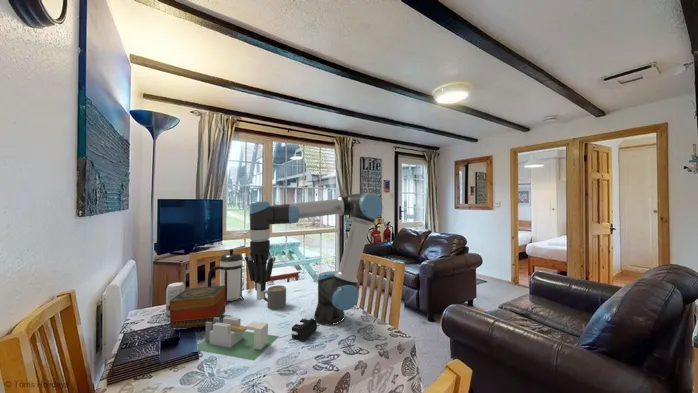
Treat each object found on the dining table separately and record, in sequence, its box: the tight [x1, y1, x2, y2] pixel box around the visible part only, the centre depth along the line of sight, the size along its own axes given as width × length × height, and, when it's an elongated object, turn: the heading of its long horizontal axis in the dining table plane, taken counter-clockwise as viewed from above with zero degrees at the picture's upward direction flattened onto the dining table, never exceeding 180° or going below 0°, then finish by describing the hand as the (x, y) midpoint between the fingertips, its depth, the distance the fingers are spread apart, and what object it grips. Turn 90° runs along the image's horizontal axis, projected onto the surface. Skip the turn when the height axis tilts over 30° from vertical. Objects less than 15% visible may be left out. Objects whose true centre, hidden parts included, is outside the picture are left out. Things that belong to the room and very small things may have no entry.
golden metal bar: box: [212, 322, 248, 331], centre depth 113 cm, size 17×3×1 cm, turn 75°
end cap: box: [291, 318, 318, 343], centre depth 118 cm, size 10×7×7 cm
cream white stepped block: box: [245, 321, 269, 350], centre depth 110 cm, size 7×5×8 cm
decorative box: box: [169, 285, 226, 329], centre depth 132 cm, size 20×22×16 cm
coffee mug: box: [262, 284, 287, 311], centre depth 154 cm, size 13×10×10 cm
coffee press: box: [207, 248, 246, 306], centre depth 160 cm, size 17×16×30 cm
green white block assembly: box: [196, 316, 280, 361], centre depth 112 cm, size 28×18×9 cm, turn 75°
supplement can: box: [165, 281, 186, 317], centre depth 143 cm, size 8×8×15 cm
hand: (260, 298), depth 110 cm, fingers closed
